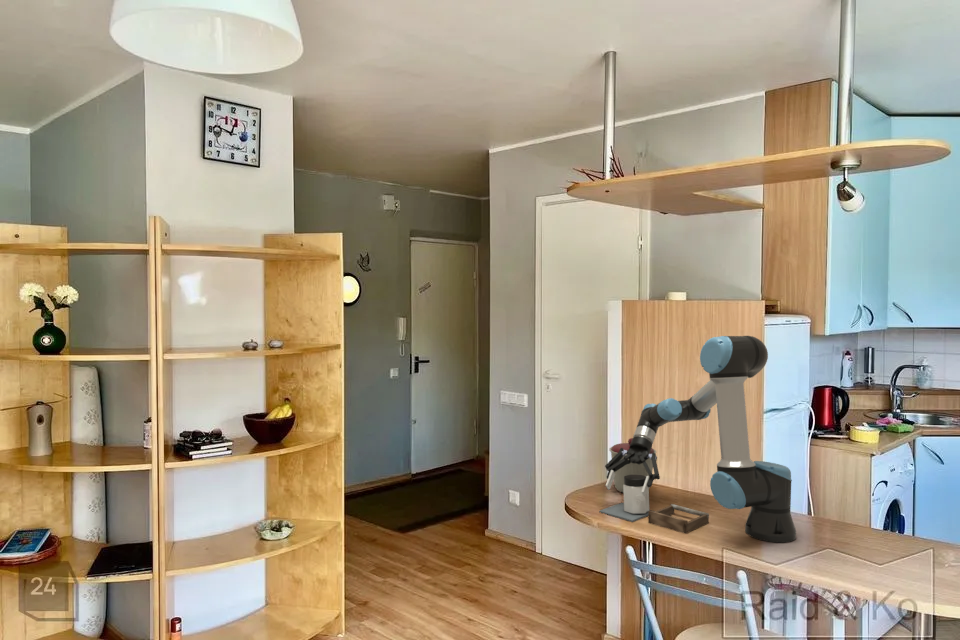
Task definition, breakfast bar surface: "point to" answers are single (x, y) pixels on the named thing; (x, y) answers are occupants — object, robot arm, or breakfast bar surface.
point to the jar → (635, 494)
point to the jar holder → (677, 519)
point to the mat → (623, 513)
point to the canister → (629, 465)
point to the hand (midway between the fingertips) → (625, 490)
